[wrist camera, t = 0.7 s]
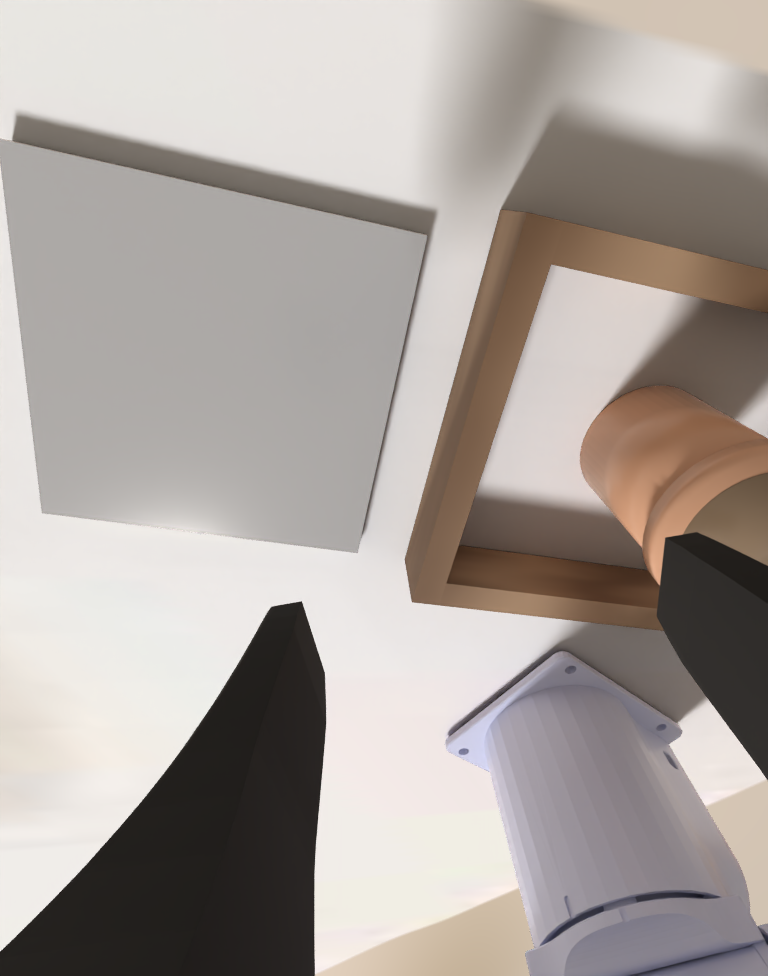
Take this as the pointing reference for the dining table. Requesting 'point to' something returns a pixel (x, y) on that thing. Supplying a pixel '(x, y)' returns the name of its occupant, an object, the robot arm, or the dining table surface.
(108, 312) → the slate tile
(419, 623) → the dining table surface
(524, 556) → the cold frame
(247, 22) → the dining table surface
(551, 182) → the dining table surface
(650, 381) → the dining table surface
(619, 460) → the terracotta pot
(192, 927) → the robot arm
